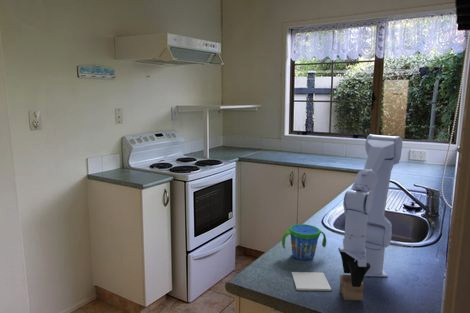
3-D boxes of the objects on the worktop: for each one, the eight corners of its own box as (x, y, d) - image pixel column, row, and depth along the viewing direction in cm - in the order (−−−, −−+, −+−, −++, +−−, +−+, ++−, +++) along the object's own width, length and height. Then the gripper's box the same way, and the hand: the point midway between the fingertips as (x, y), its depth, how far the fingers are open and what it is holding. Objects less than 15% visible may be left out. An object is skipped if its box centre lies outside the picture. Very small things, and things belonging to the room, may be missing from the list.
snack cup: (321, 250, 134) (322, 223, 133) (329, 263, 124) (331, 234, 122) (278, 250, 134) (279, 223, 132) (283, 263, 123) (285, 234, 122)
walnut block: (339, 290, 107) (340, 274, 106) (356, 291, 107) (357, 274, 106) (344, 300, 102) (345, 283, 101) (362, 300, 102) (363, 283, 101)
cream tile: (291, 273, 116) (291, 271, 116) (323, 274, 116) (323, 272, 116) (296, 290, 106) (296, 288, 106) (331, 290, 106) (331, 289, 106)
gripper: (334, 224, 108) (331, 267, 110) (348, 243, 94) (344, 292, 96) (357, 224, 108) (354, 267, 110) (376, 243, 94) (371, 293, 96)
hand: (351, 279), depth 103 cm, fingers open, 7 cm apart
